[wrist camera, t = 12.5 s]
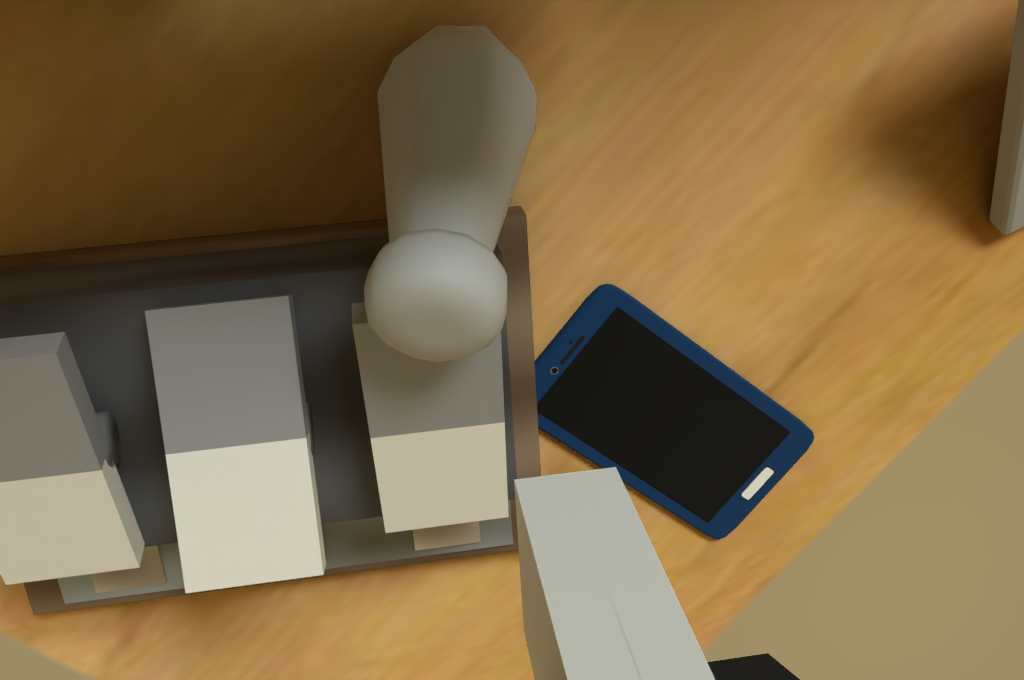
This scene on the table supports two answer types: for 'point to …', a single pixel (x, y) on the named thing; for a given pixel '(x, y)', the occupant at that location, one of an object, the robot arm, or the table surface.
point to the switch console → (325, 368)
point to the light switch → (1011, 143)
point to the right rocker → (434, 432)
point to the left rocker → (58, 470)
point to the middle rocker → (237, 441)
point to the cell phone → (663, 413)
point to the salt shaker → (448, 190)
